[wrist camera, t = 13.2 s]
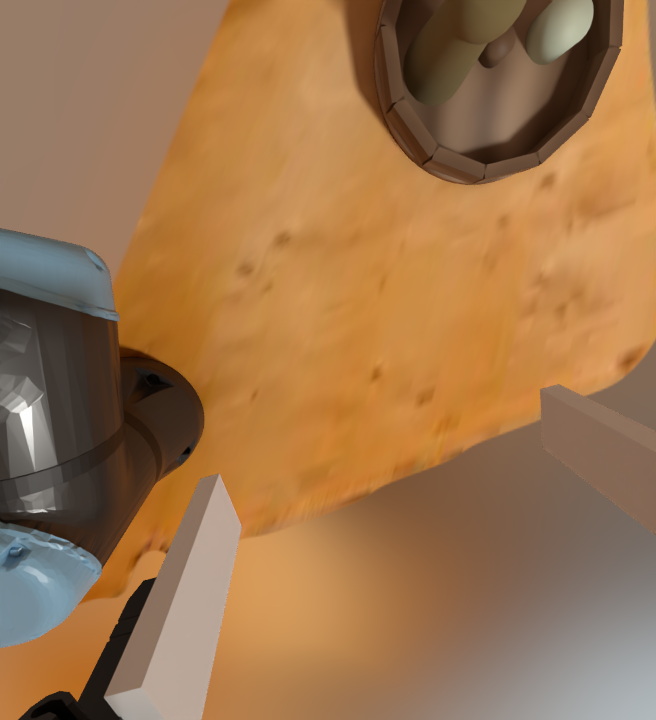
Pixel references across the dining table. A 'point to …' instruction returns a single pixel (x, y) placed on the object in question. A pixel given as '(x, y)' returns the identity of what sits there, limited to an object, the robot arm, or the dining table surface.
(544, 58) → the pale beige rounded lump
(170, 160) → the dining table surface
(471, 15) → the olive green knobbed peg
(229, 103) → the dining table surface
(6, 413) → the robot arm
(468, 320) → the dining table surface
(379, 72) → the tray
